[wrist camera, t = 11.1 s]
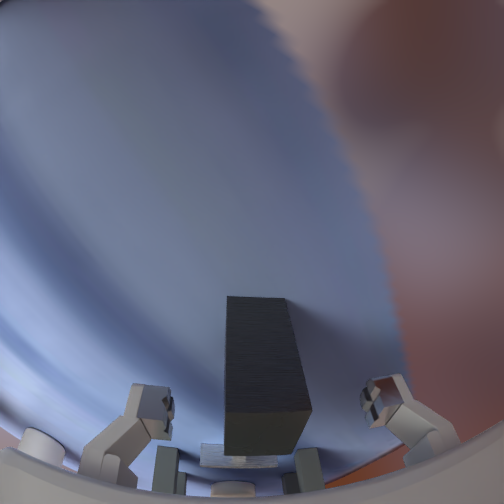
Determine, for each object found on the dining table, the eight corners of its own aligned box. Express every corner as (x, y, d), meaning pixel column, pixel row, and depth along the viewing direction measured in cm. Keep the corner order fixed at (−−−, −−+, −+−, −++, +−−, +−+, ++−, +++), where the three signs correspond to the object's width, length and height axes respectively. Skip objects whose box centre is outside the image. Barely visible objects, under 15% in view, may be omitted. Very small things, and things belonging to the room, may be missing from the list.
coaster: (219, 477, 28) (219, 490, 26) (262, 482, 29) (263, 494, 27) (205, 487, 30) (204, 498, 28) (244, 492, 31) (244, 503, 29)
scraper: (188, 293, 15) (165, 407, 8) (320, 299, 15) (363, 404, 9) (201, 445, 22) (198, 509, 16) (274, 446, 23) (282, 508, 17)
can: (64, 455, 26) (48, 518, 16) (27, 433, 25) (6, 495, 14) (68, 444, 24) (48, 518, 13) (25, 420, 22) (-1, 491, 12)
